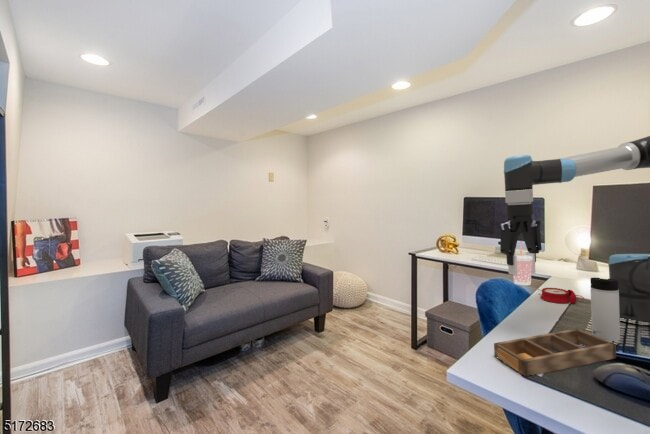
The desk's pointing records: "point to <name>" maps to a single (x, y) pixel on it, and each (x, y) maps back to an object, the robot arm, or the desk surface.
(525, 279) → the beverage cup
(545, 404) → the desk surface
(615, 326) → the travel mug
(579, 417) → the desk surface
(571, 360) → the walnut rack
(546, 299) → the alarm clock
